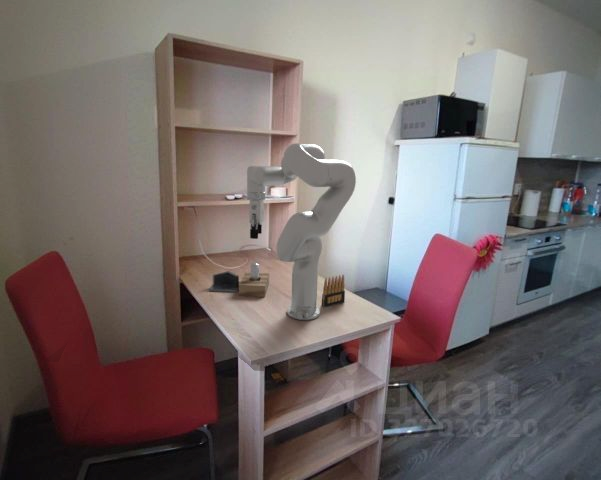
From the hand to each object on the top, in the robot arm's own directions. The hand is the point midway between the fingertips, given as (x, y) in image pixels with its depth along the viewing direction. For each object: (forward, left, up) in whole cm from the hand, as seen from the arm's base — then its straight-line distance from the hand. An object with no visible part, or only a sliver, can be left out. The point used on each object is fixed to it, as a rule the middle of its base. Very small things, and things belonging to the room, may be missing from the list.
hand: (256, 235), depth 152 cm
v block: (+1, +13, -24) cm, 28 cm away
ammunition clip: (-13, -34, -25) cm, 43 cm away
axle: (-1, 0, -24) cm, 24 cm away
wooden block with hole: (-1, 0, -24) cm, 24 cm away
